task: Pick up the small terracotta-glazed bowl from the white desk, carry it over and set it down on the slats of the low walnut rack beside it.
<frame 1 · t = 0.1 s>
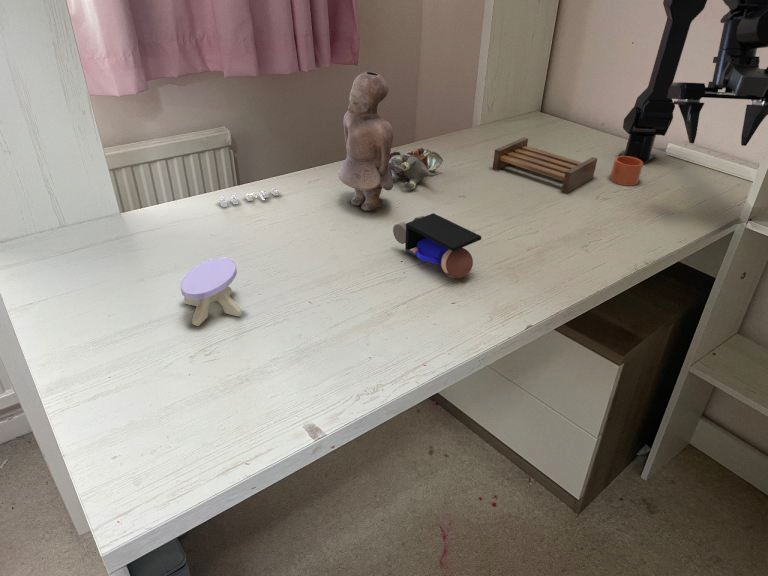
hand: (717, 144, 109), 15 cm above the table, tool pointing down, fingers open, 9 cm apart
figurines set: (249, 202, 119), on the table
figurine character: (433, 263, 101), on the table
toy table: (214, 309, 88), on the table
clay figurine: (366, 205, 119), on the table
rack: (542, 173, 135), on the table
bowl: (623, 180, 134), on the table
figurine: (410, 175, 133), on the table
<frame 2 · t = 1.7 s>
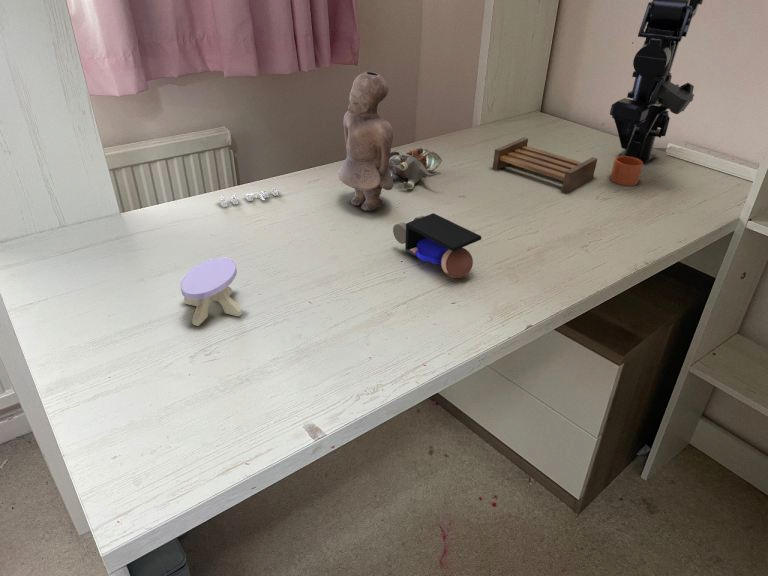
hand: (633, 143, 129), 8 cm above the table, tool pointing down, fingers open, 9 cm apart
nothing on the table moved.
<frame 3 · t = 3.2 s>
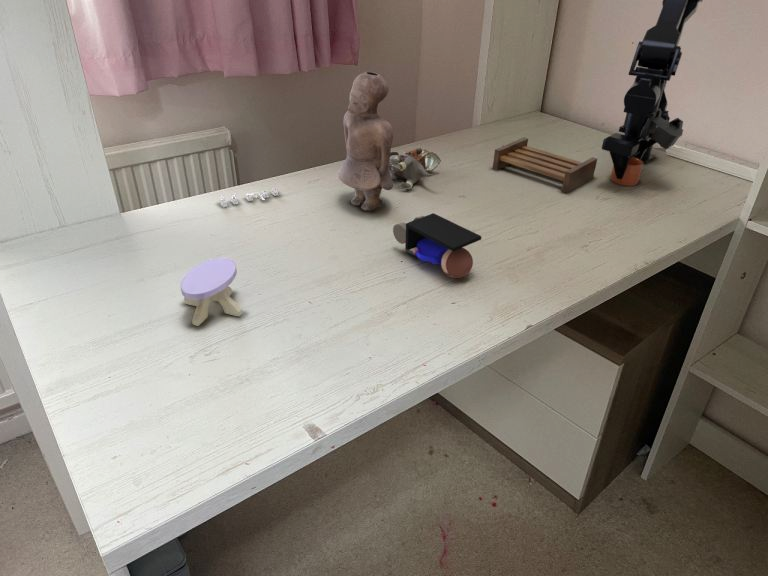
hand: (625, 175, 133), 1 cm above the table, tool pointing down, fingers closed on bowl, 6 cm apart
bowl: (623, 180, 134), on the table, touching gripper
everything else where it was.
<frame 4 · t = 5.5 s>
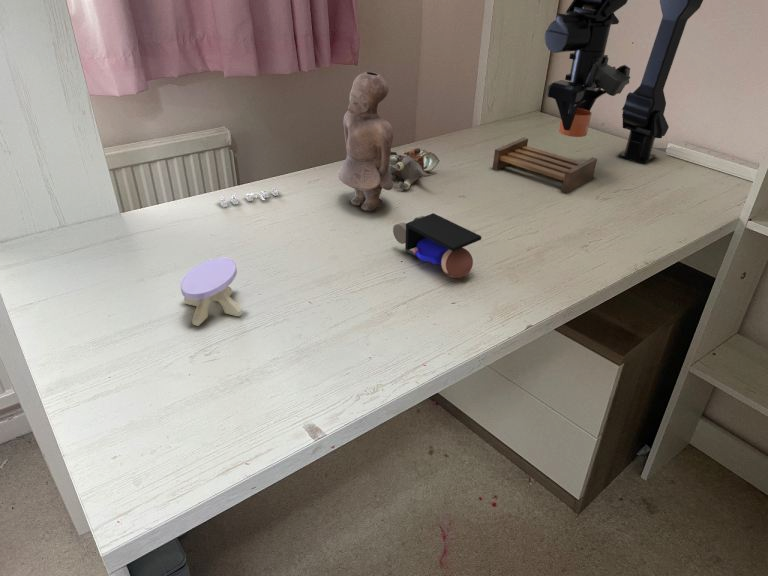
hand: (573, 126, 129), 11 cm above the table, tool pointing down, fingers closed on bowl, 6 cm apart
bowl: (572, 132, 129), point 10 cm above the table, touching gripper
everything else where it was.
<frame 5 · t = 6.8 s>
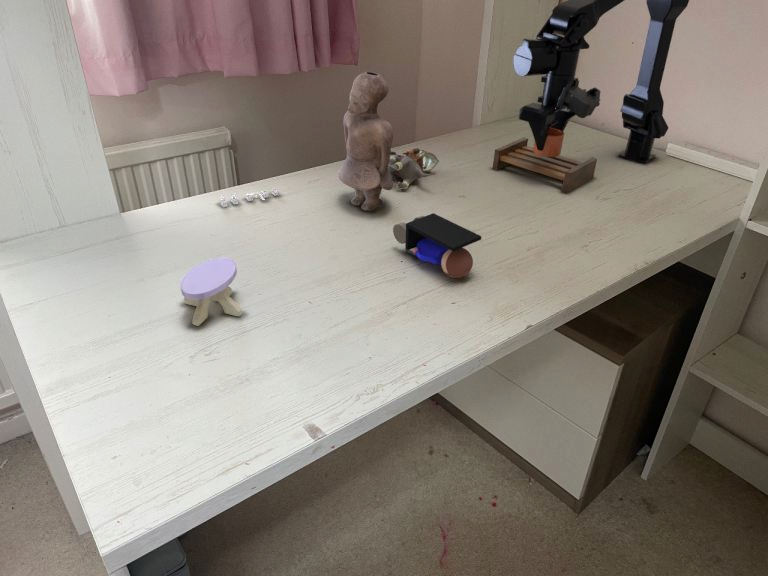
hand: (547, 146, 132), 6 cm above the table, tool pointing down, fingers closed on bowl, 6 cm apart
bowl: (546, 152, 133), point 5 cm above the table, touching gripper
when the fingers open (4 cm above the table, at t = 7.9 s): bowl stays where it is, resting on rack.
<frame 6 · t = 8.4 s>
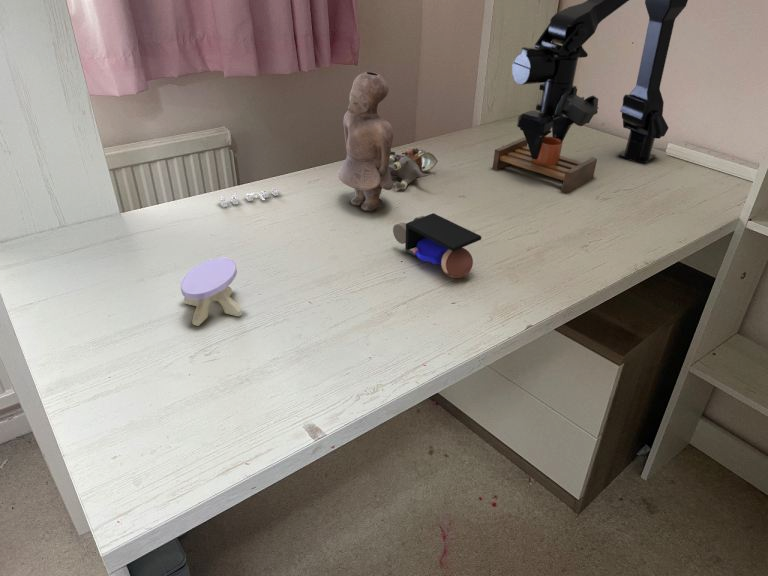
hand: (545, 153, 133), 5 cm above the table, tool pointing down, fingers open, 9 cm apart
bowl: (545, 160, 134), point 3 cm above the table, touching rack
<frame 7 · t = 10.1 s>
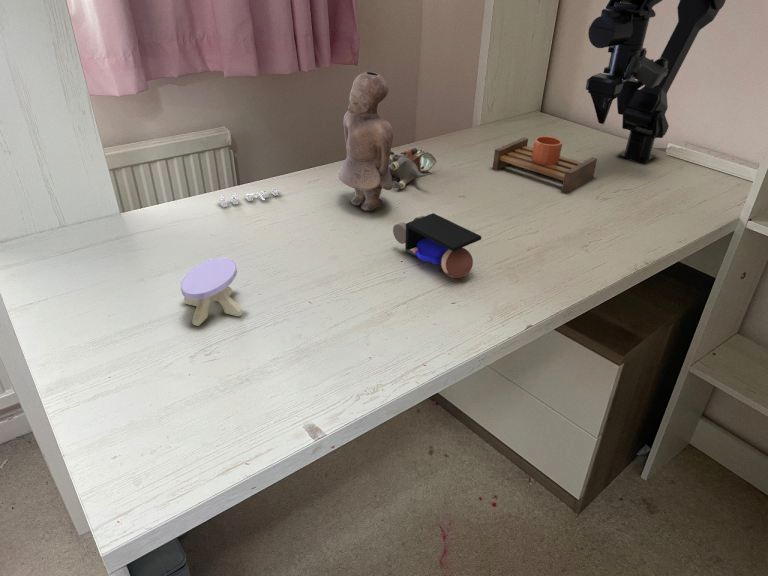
hand: (611, 118, 132), 12 cm above the table, tool pointing down, fingers open, 9 cm apart
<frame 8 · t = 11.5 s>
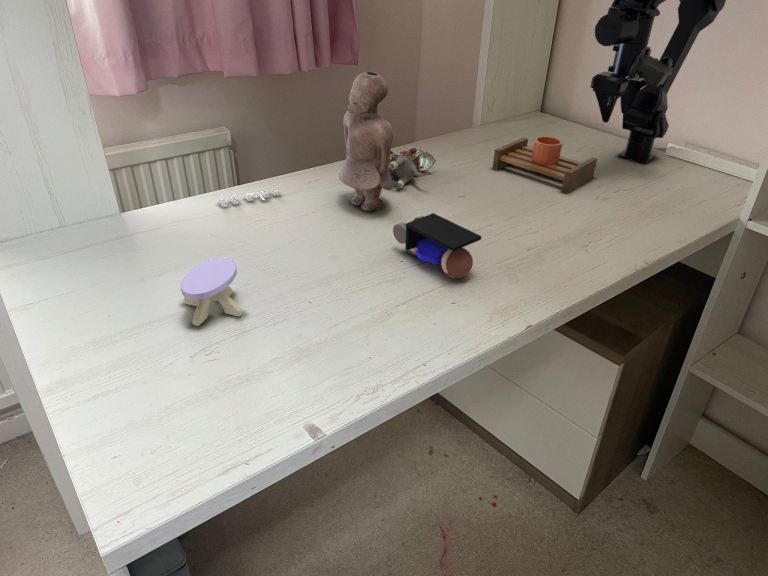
hand: (614, 117, 132), 12 cm above the table, tool pointing down, fingers open, 9 cm apart
at the end: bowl inside the target area on the rack (0.1 cm from its centre), point 3.0 cm above the rack's base; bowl tilted 0°; the gripper is holding nothing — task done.
